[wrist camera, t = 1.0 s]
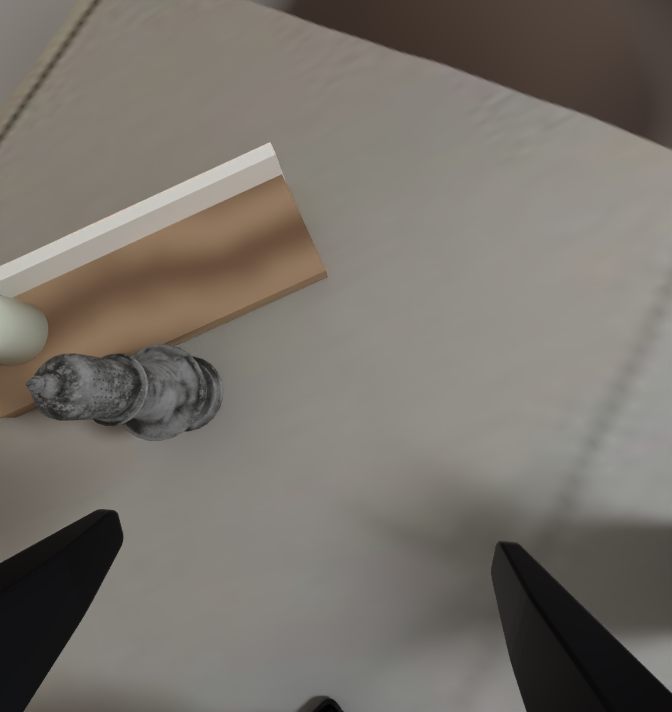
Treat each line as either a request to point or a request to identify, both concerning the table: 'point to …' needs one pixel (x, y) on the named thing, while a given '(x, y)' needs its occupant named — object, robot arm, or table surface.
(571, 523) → the table surface
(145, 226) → the rail
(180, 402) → the grey chess piece
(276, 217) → the shelf board
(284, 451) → the table surface
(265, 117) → the table surface
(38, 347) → the sage ceramic jar
